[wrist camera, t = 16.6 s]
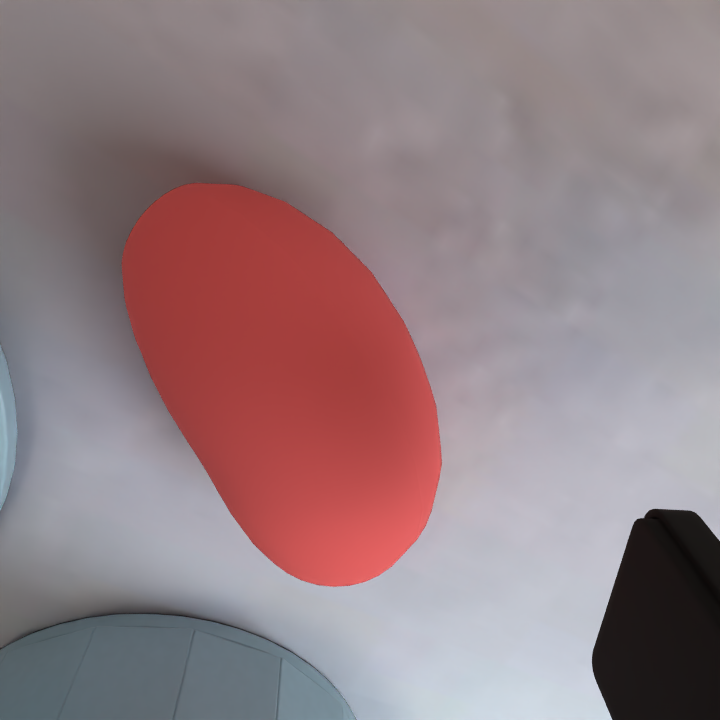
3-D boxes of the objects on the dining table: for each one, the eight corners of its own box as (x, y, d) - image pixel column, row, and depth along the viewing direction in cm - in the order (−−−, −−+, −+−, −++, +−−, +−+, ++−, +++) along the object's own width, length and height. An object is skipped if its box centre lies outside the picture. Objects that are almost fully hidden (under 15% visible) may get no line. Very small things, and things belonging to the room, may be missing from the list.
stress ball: (428, 169, 15) (305, 104, 9) (496, 542, 16) (420, 699, 10) (242, 221, 17) (47, 195, 11) (307, 550, 18) (152, 684, 12)
